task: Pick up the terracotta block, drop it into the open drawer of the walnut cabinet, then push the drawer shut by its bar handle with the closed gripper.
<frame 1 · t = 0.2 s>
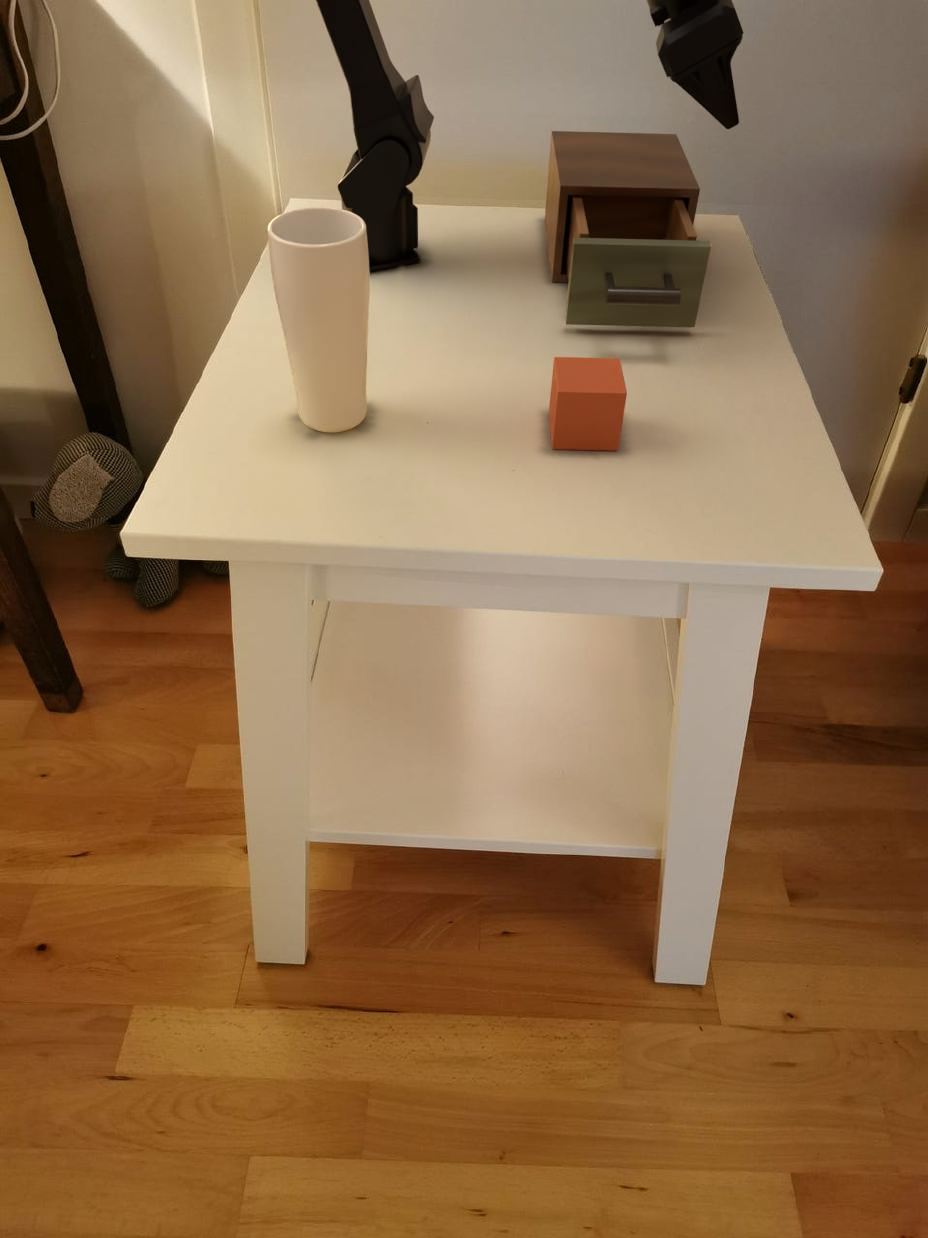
hand: (728, 108, 85), 15 cm above the table, tool tilted 30°, fingers open, 9 cm apart
block: (582, 431, 75), on the table
cabinet: (609, 251, 99), on the table
drinking glass: (333, 419, 76), on the table
drawer: (630, 263, 86), point 5 cm above the table, slide at 9.0 cm
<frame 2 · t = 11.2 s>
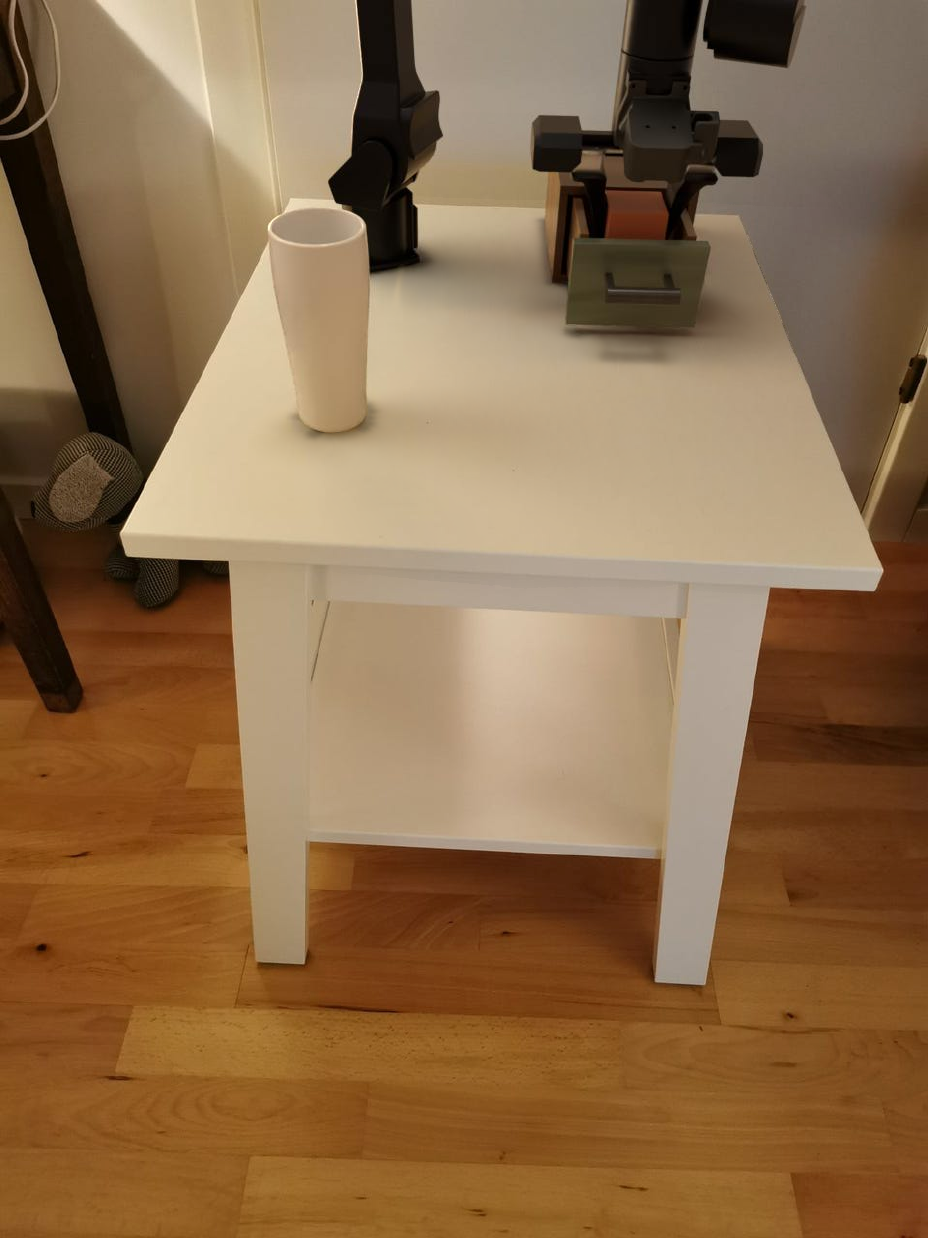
hand: (629, 246, 87), 5 cm above the table, tool pointing down, fingers closed on block, 5 cm apart
block: (628, 257, 88), point 4 cm above the table, touching gripper
everything else where it was.
when the fingers open (8 cm above the table, at t = 23.6 s): block drops 5 cm, resting on drawer.
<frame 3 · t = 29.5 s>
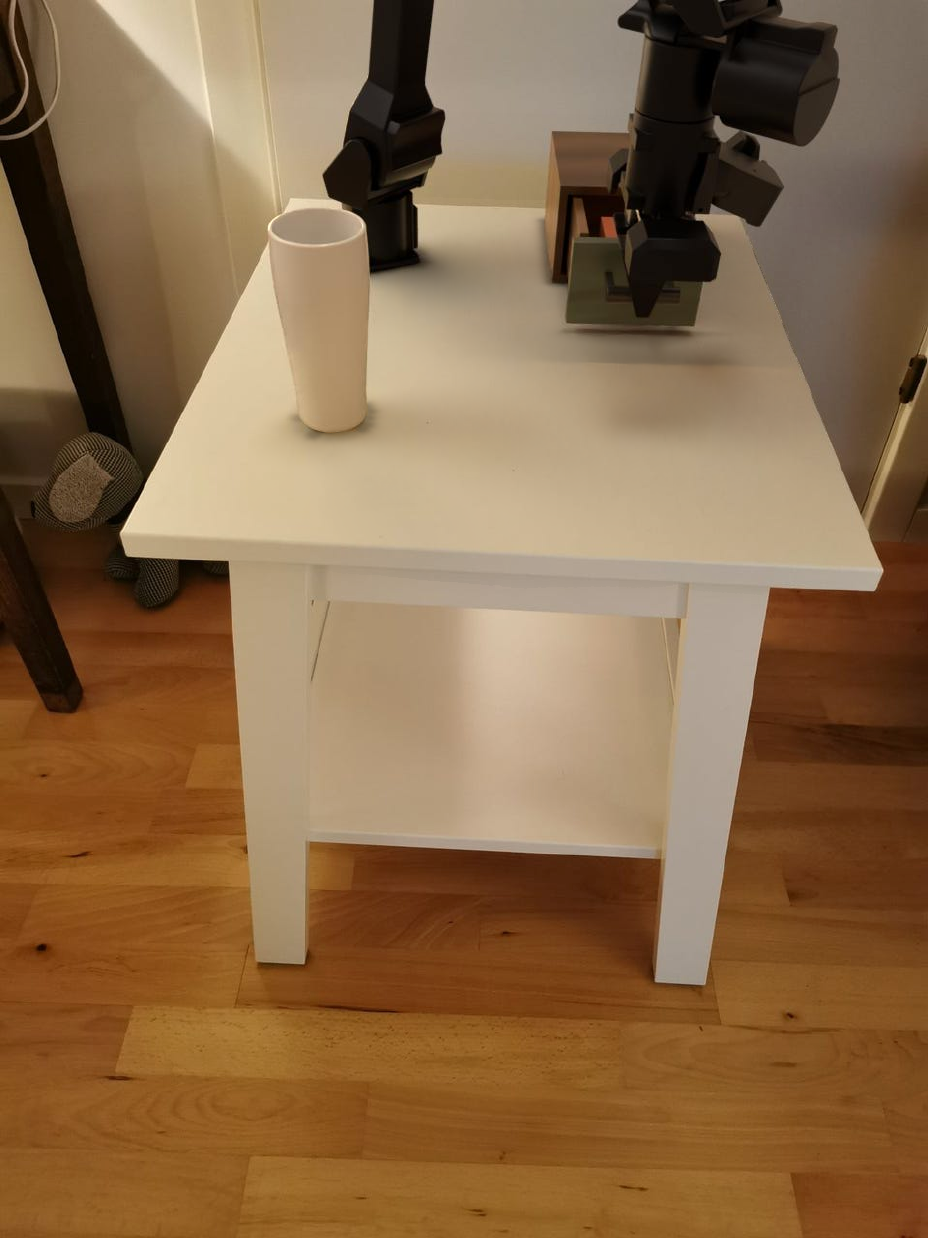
hand: (641, 315, 80), 4 cm above the table, tool pointing down, fingers closed
block: (624, 282, 89), point 2 cm above the table, touching drawer
drawer: (629, 262, 87), point 5 cm above the table, slide at 8.8 cm, touching block, gripper
everything else where it was.
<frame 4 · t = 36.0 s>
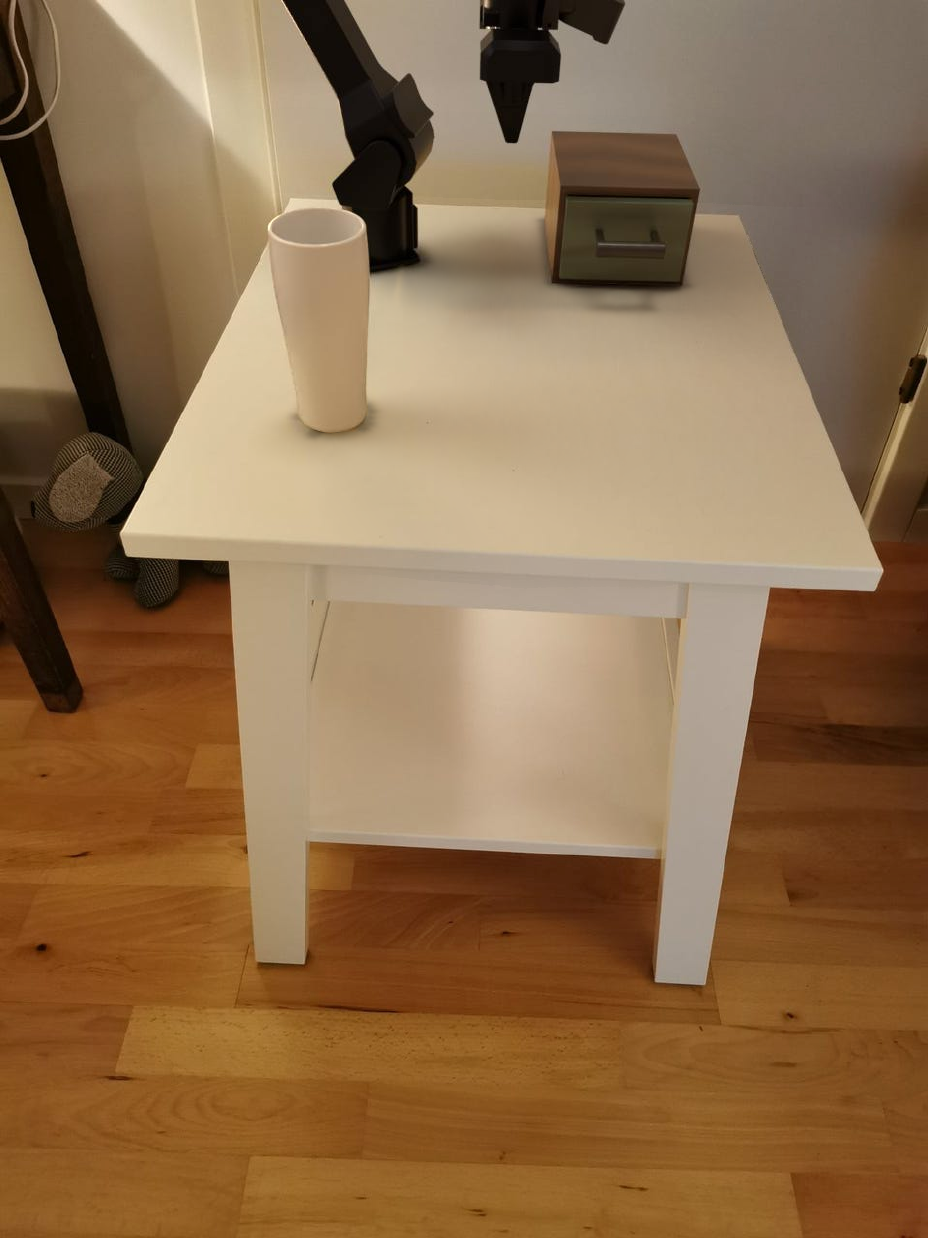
hand: (511, 141, 87), 12 cm above the table, tool pointing down, fingers closed
block: (614, 242, 96), point 2 cm above the table, touching drawer
drawer: (619, 222, 93), point 5 cm above the table, slide at 0.0 cm, touching block, cabinet
everything else where it was.
at the end: block inside the target area in the cabinet (2.4 cm from its centre), point 2.0 cm above the cabinet's base; drawer slide at 0.0 cm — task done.
